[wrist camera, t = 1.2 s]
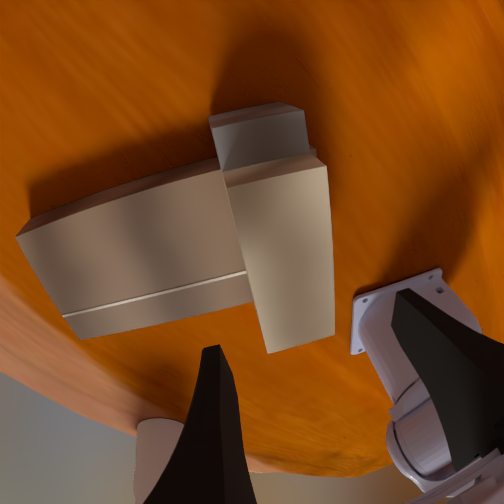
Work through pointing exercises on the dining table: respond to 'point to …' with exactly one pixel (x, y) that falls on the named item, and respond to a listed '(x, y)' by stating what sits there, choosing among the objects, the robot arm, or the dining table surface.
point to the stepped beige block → (279, 220)
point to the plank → (141, 252)
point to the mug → (153, 453)
